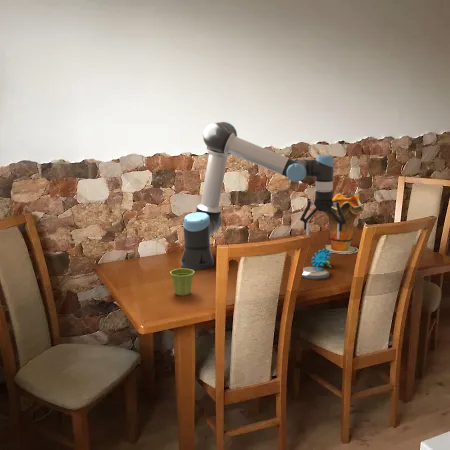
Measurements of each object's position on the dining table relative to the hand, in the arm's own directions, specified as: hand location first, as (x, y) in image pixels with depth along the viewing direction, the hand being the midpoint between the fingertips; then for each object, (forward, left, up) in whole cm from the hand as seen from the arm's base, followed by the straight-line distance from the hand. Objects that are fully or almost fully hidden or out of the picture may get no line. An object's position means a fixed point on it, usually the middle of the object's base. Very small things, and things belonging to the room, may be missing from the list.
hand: (322, 237), depth 232 cm
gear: (0, 0, -14) cm, 14 cm away
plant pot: (-46, -51, -14) cm, 70 cm away
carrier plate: (-1, -13, -14) cm, 19 cm away
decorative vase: (+5, +31, -14) cm, 34 cm away
